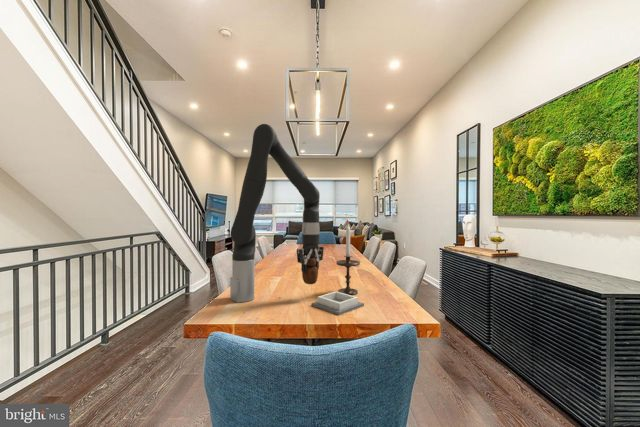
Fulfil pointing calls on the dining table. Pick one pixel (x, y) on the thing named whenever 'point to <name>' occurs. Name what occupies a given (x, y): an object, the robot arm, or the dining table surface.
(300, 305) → the dining table surface
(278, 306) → the dining table surface
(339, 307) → the plate
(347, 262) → the candlestick
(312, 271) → the wooden figurine
